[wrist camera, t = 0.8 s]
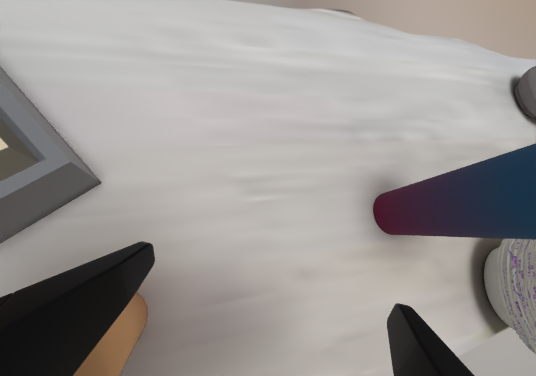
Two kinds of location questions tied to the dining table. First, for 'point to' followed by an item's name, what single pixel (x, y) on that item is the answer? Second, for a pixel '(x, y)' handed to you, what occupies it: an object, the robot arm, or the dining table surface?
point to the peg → (117, 342)
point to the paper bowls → (514, 286)
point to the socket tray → (41, 175)
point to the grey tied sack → (527, 92)
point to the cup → (467, 201)
